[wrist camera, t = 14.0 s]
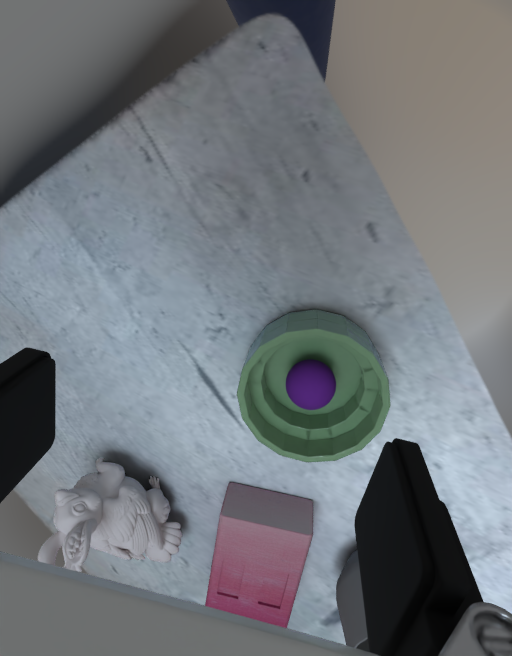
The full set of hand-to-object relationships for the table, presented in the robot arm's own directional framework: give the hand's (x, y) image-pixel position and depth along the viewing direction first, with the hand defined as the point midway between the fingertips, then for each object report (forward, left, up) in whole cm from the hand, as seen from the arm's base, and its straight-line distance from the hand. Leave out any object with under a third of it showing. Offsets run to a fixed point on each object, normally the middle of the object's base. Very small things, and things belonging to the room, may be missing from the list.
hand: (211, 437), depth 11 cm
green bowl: (+9, +5, -26) cm, 28 cm away
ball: (+9, +5, -23) cm, 25 cm away
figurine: (+29, -10, -26) cm, 40 cm away
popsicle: (+34, +5, -26) cm, 43 cm away
